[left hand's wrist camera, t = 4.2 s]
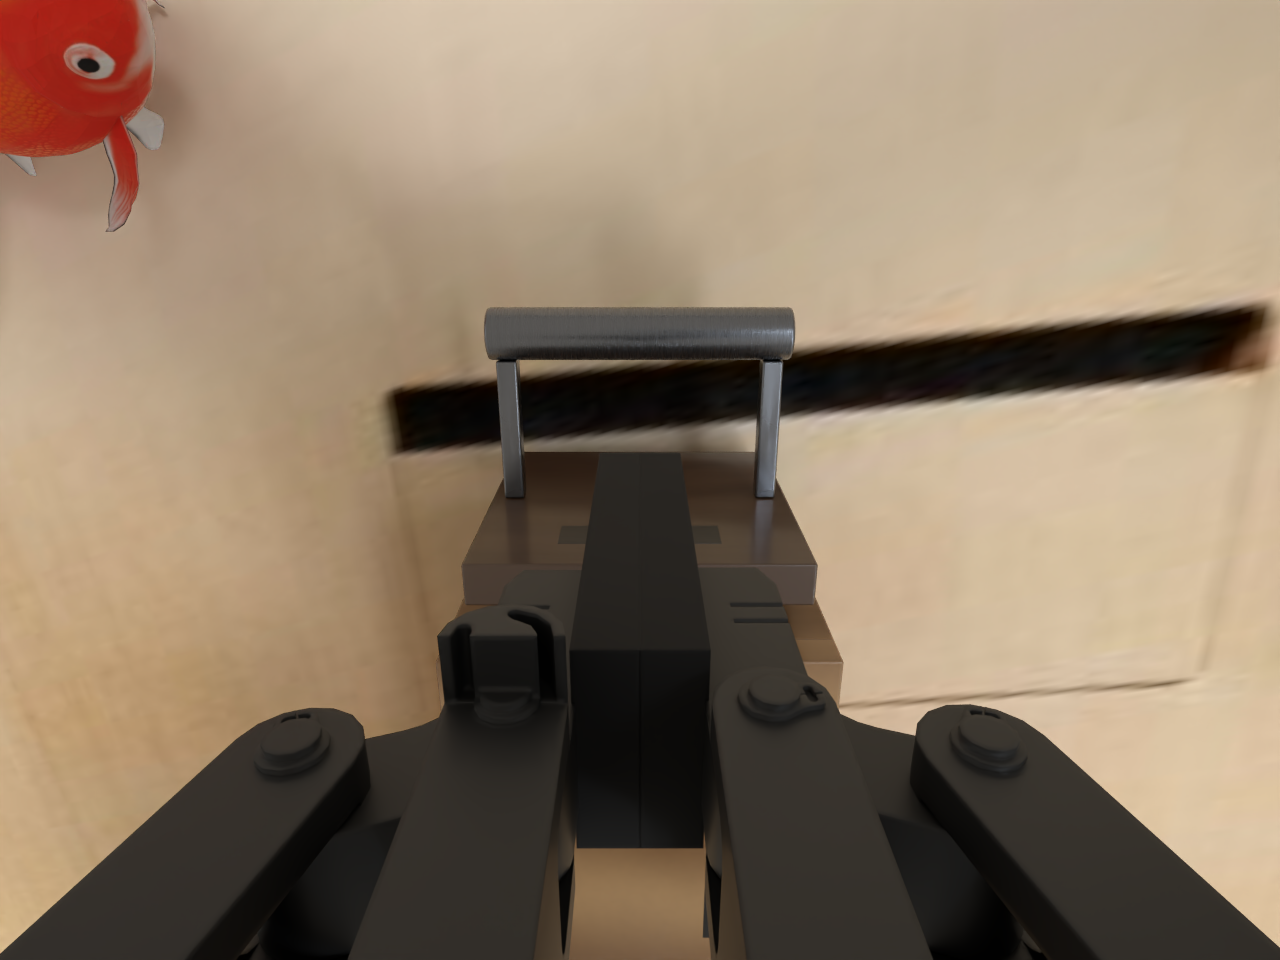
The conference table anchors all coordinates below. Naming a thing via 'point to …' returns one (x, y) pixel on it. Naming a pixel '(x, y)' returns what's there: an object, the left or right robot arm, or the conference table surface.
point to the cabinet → (665, 854)
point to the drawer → (564, 481)
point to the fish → (79, 85)
